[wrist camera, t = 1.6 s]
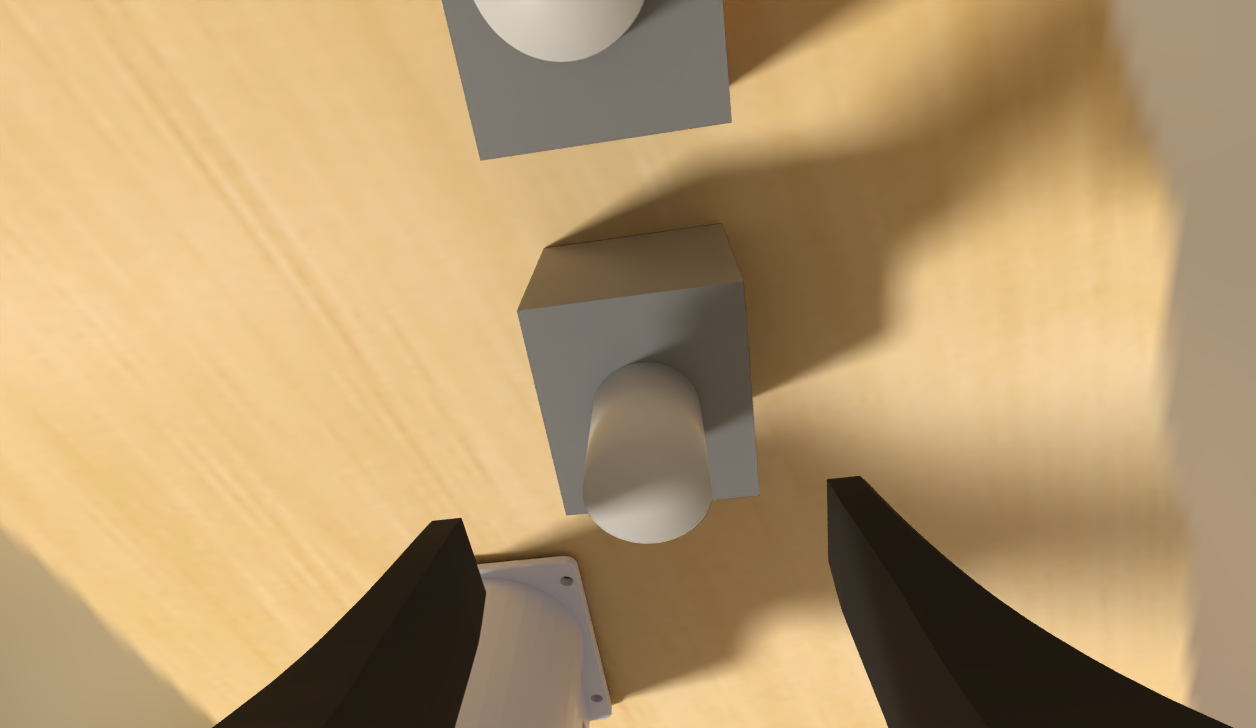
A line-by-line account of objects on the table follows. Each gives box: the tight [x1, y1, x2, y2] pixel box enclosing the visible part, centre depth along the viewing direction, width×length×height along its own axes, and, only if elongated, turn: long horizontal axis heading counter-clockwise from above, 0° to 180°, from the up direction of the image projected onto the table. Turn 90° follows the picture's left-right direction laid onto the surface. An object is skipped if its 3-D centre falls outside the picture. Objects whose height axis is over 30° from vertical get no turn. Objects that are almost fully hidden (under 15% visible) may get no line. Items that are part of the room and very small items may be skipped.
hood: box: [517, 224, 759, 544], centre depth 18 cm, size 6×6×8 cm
